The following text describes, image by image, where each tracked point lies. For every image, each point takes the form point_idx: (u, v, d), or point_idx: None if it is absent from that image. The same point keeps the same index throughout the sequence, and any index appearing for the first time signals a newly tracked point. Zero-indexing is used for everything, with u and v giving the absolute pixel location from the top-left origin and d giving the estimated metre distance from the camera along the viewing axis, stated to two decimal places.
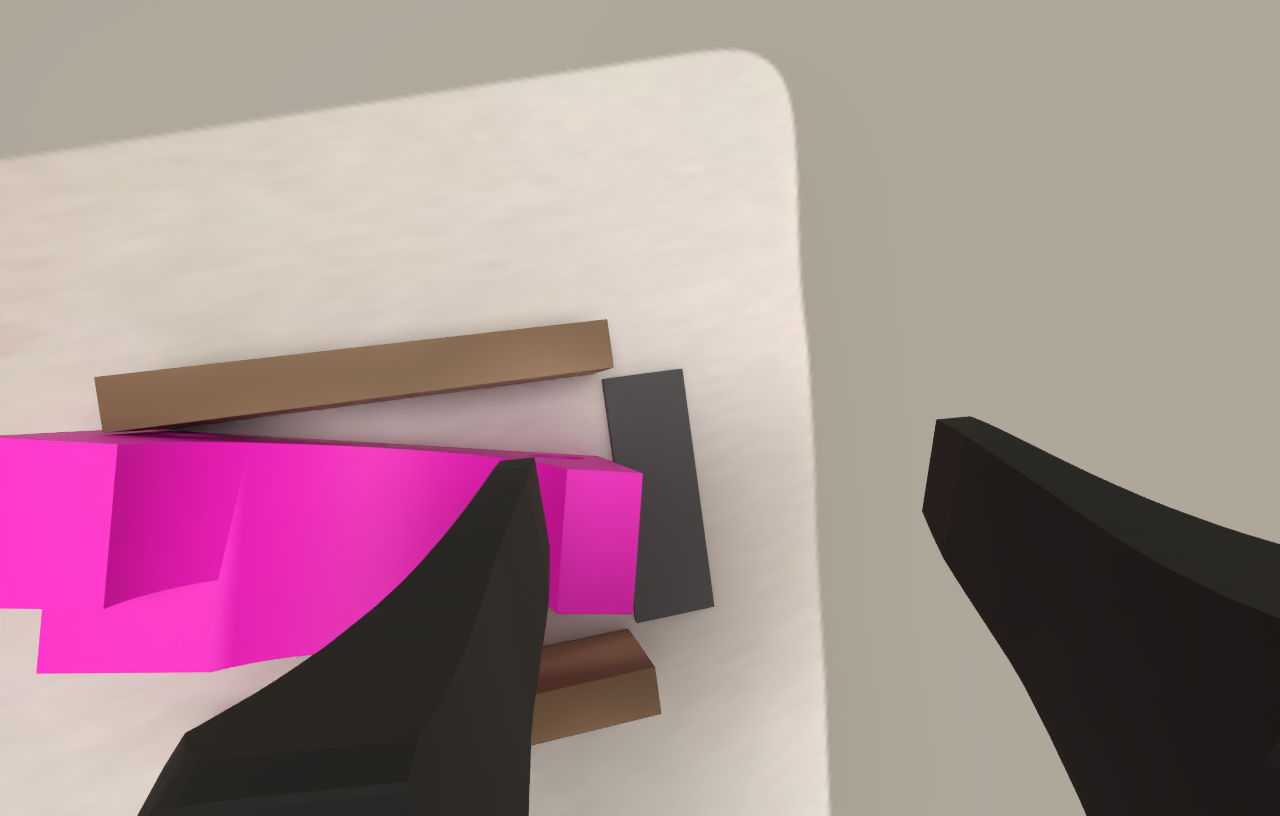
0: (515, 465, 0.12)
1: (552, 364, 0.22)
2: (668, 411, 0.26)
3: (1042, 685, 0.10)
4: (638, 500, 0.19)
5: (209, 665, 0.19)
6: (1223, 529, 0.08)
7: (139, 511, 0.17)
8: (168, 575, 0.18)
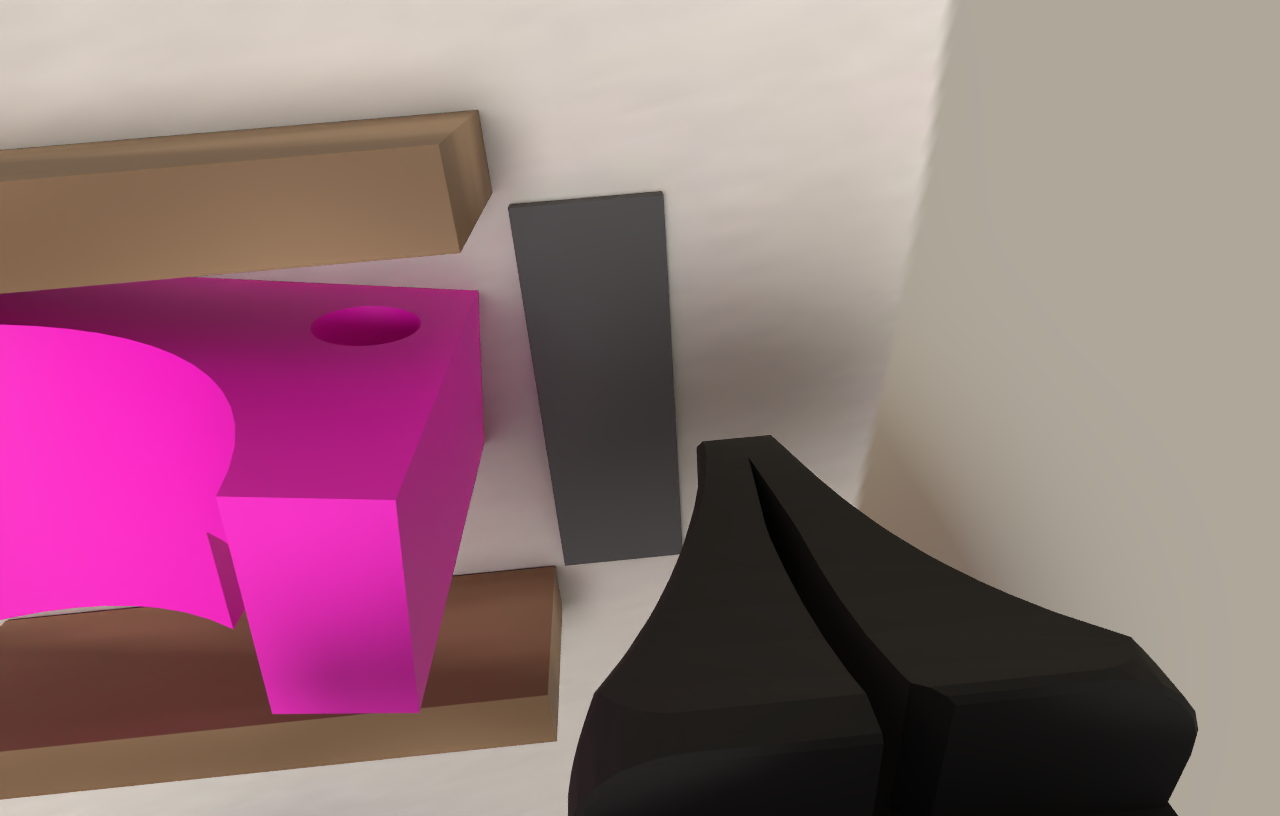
0: (724, 445, 0.12)
1: (322, 243, 0.10)
2: (630, 273, 0.14)
3: None
4: (395, 548, 0.09)
5: None
6: (927, 558, 0.08)
7: None
8: None
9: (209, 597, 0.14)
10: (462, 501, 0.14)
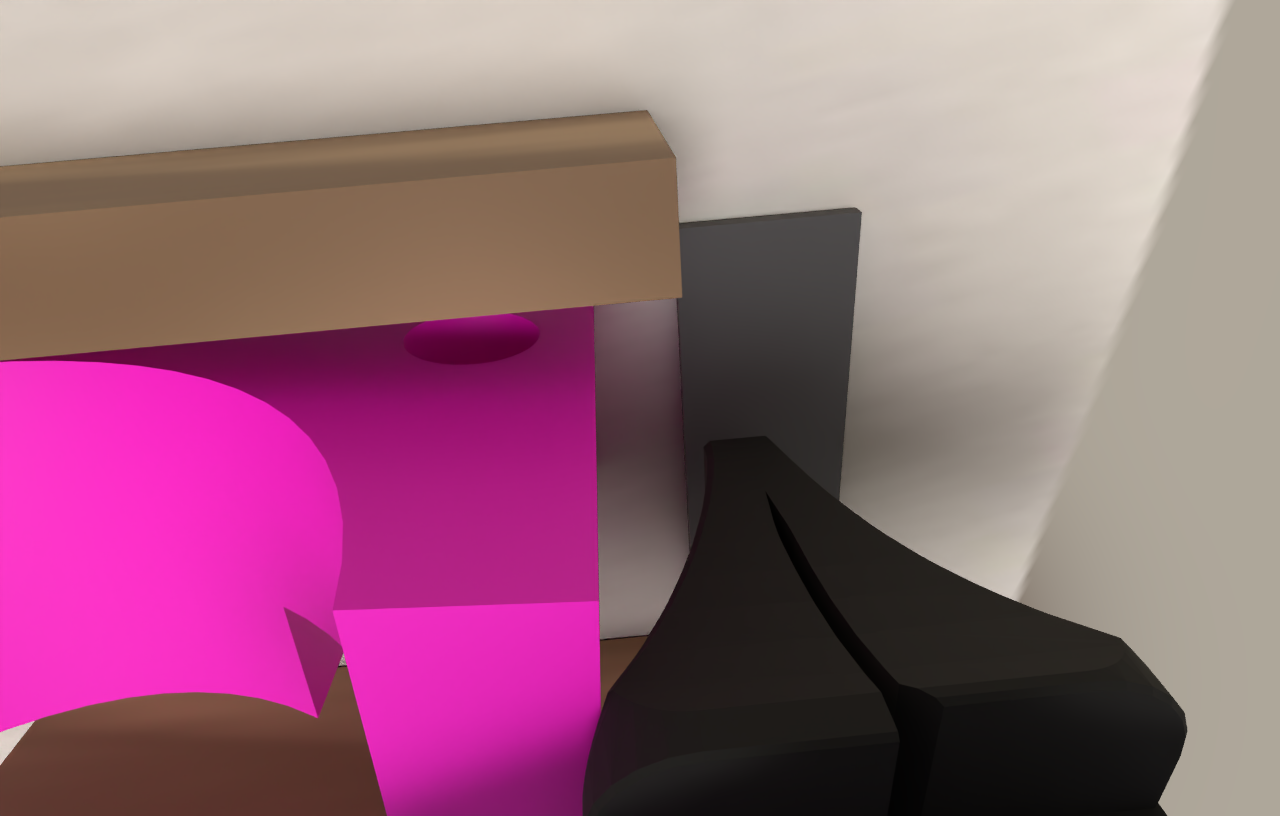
0: (731, 445, 0.12)
1: (508, 285, 0.08)
2: (811, 304, 0.12)
3: None
4: (591, 666, 0.06)
5: None
6: (919, 559, 0.08)
7: None
8: None
9: (287, 682, 0.12)
10: None
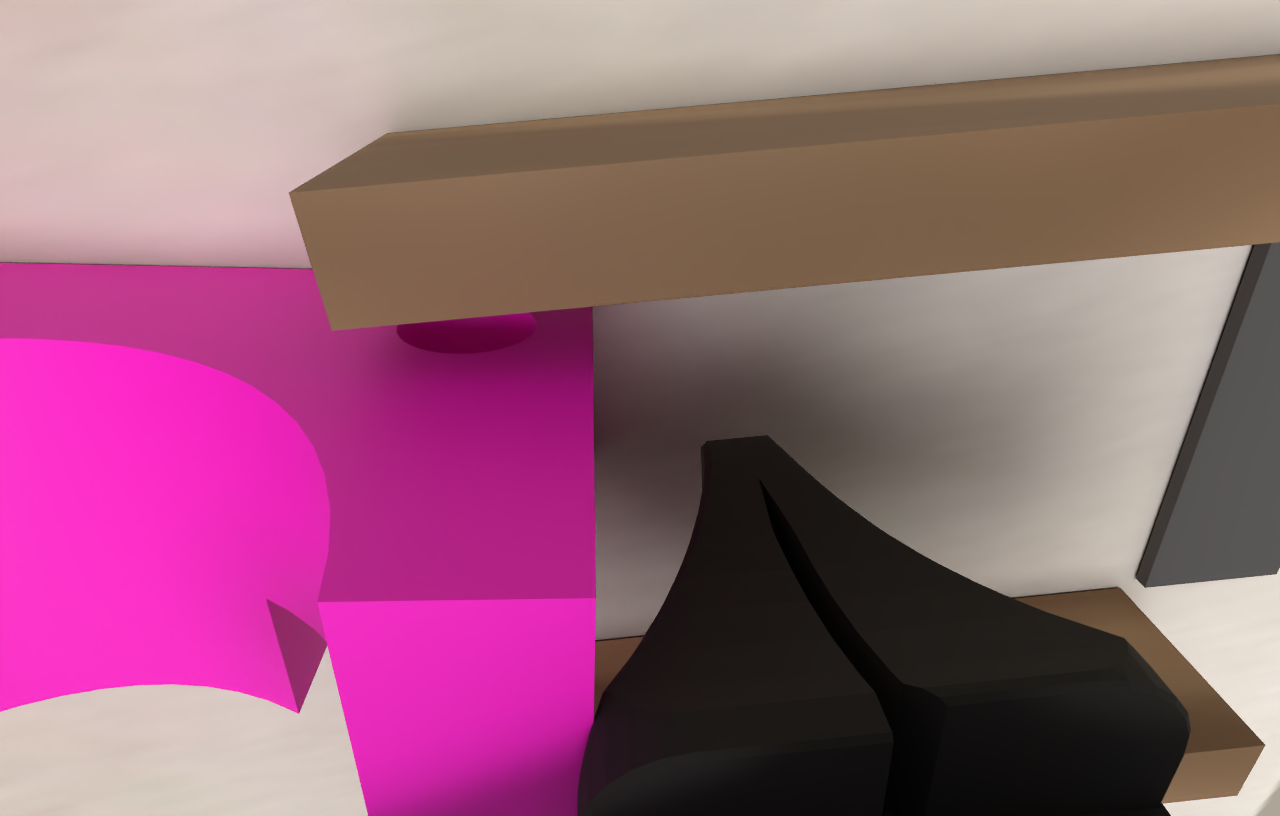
0: (728, 445, 0.12)
1: None
2: None
3: None
4: (586, 666, 0.06)
5: None
6: (922, 558, 0.08)
7: None
8: None
9: (268, 676, 0.11)
10: None
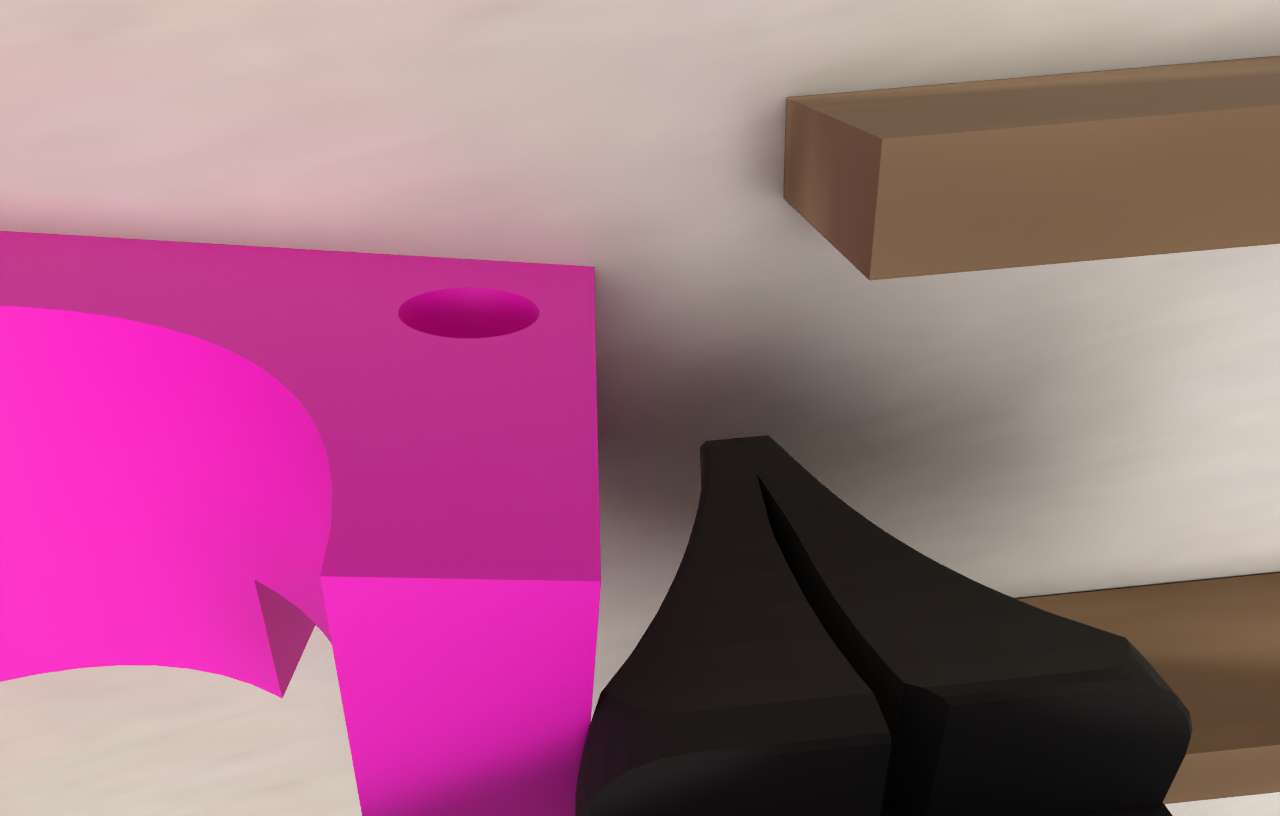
0: (727, 445, 0.12)
1: None
2: None
3: None
4: (587, 650, 0.06)
5: None
6: (923, 558, 0.08)
7: None
8: None
9: (252, 659, 0.11)
10: None
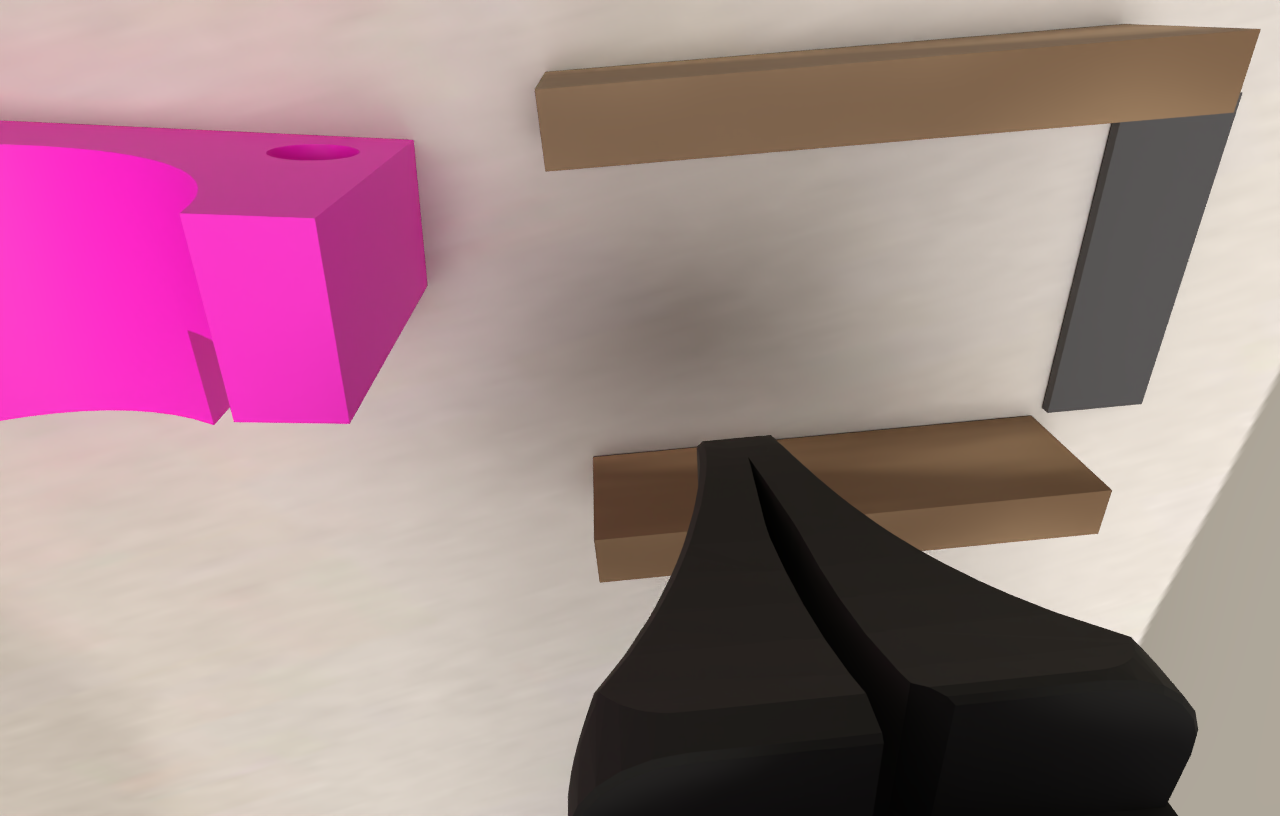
0: (724, 446, 0.12)
1: (1147, 103, 0.14)
2: (1194, 157, 0.19)
3: None
4: (317, 263, 0.11)
5: None
6: (927, 558, 0.08)
7: None
8: None
9: (193, 397, 0.17)
10: (399, 306, 0.16)
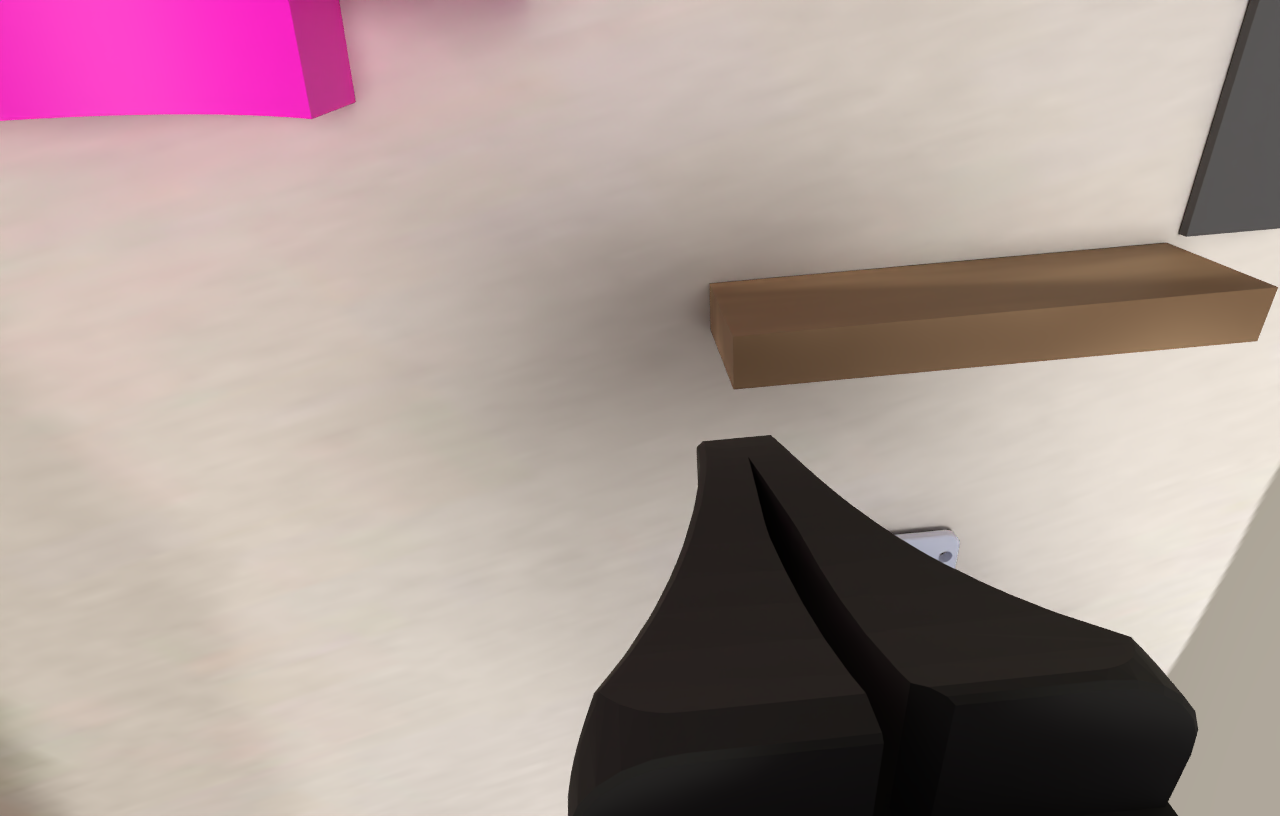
0: (724, 445, 0.12)
1: None
2: None
3: None
4: None
5: None
6: (927, 558, 0.08)
7: None
8: None
9: (288, 84, 0.15)
10: None
